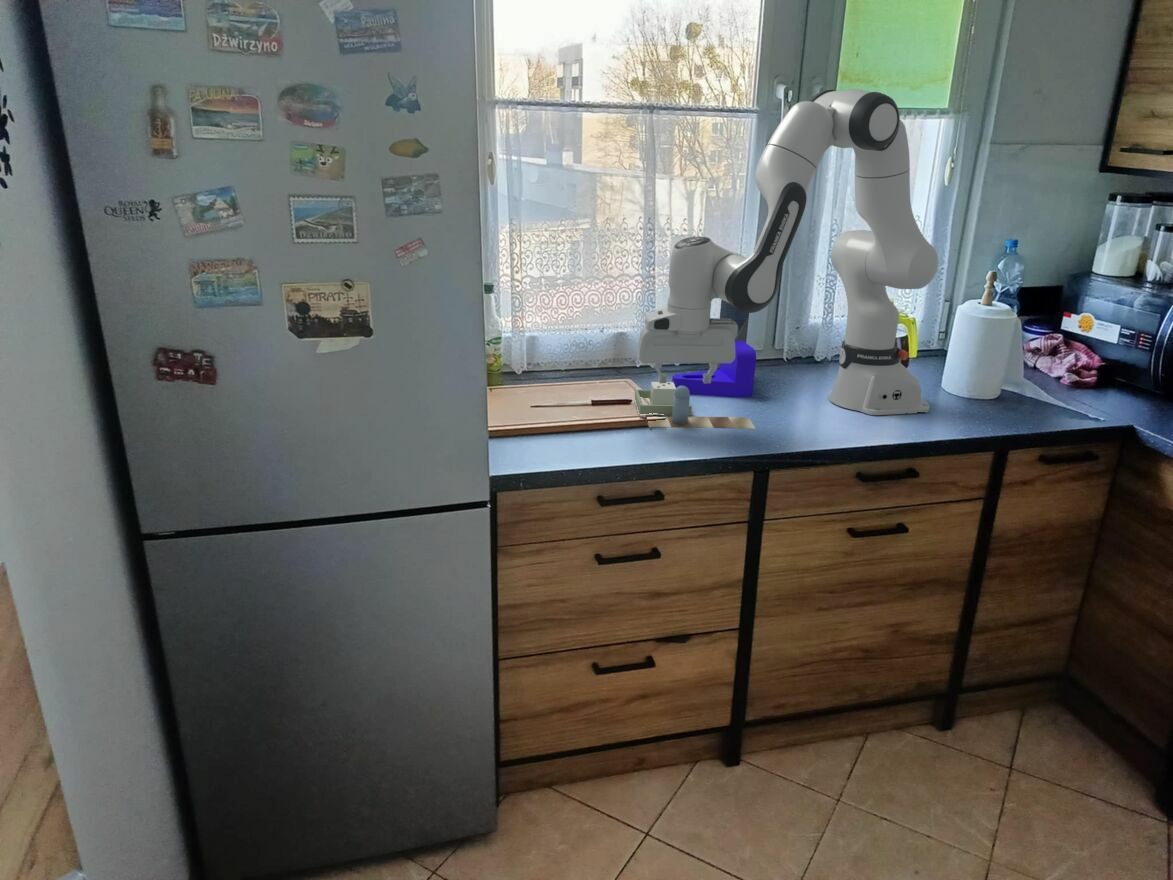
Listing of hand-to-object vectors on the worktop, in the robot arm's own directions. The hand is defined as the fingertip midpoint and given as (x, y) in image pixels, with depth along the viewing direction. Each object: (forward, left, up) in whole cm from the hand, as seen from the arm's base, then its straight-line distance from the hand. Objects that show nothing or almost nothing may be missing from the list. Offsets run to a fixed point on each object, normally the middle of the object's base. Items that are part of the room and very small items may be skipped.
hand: (684, 382), depth 185 cm
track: (-4, 0, -9) cm, 10 cm away
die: (+3, -9, -9) cm, 13 cm away
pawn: (0, 0, -9) cm, 9 cm away
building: (-17, -33, -9) cm, 38 cm away
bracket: (-10, -22, -10) cm, 26 cm away
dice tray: (+3, -9, -9) cm, 13 cm away
